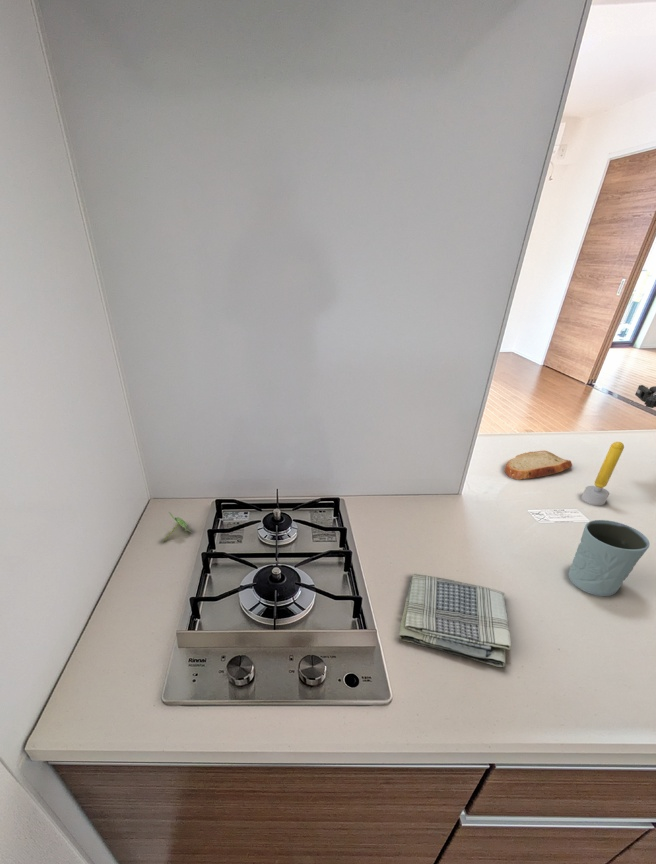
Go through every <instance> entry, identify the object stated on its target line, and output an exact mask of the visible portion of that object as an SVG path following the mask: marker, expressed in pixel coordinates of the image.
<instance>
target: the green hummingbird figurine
mask: <svg viewBox="0 0 656 864" xmlns="http://www.w3.org/2000/svg"><path fill="white" fill-rule="evenodd" d="M168 513H169V515H170V516H171V518H172V519H173V520H174V522H176V525H175V526H174V528H173V529H172V531H171V532H170V533H169V534H168V536H167V537H165V539H164V540H163V541H162V542H163V543H165V542H166V540H168V538H169V537H170V536H171V535H172V534H173V532H174V531H175V530H176V528H177V527H178V526H180V527H182V528H183V529H184V530H186V531H187V532H190V533H191V532H192V531H191V530H190V529H189V528H187V527H188V524H187V522H186V521H185V519H183V518H181V517H179V516H178V517H175V516H174V515H173V514H172V513H171V512H170V511H168Z"/></svg>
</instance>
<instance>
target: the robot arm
mask: <svg viewBox="0 0 656 864" xmlns="http://www.w3.org/2000/svg"><path fill="white" fill-rule="evenodd" d="M635 396H636V397H637V398H638V399H639V400H640V401H642V402H643V403H644V405H645V408H650V409H654V408H656V385H654V386H650V388H649V387H648V386H646V385H643V384H640V385H638V387H637V390H636V392H635Z"/></svg>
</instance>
